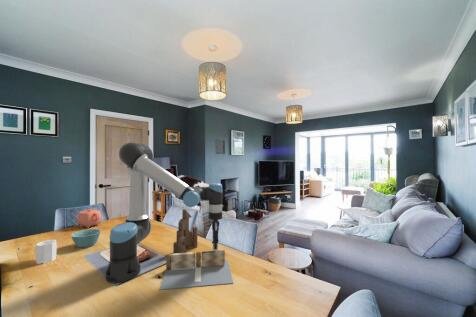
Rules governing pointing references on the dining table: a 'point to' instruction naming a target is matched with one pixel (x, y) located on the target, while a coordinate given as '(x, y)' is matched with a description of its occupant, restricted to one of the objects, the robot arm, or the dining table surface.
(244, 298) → the dining table surface
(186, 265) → the beige wooden panel
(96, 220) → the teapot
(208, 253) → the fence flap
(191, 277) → the card
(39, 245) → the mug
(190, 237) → the wooden toy
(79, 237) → the bowl
